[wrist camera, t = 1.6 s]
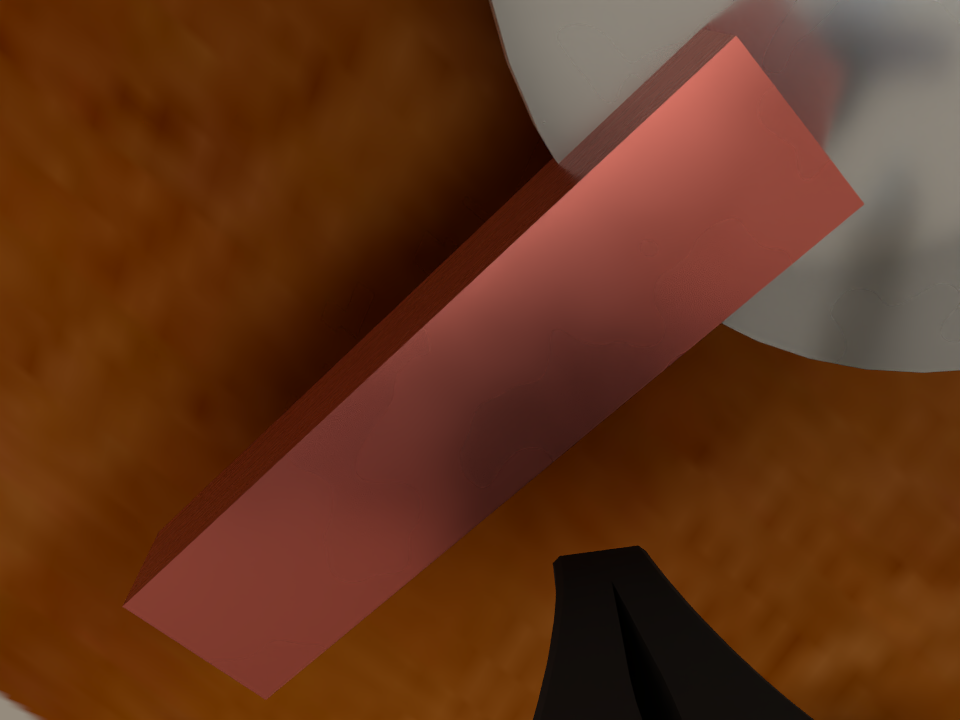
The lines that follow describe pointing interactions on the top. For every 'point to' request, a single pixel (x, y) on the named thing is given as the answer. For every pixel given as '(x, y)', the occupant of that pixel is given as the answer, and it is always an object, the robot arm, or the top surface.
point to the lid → (595, 294)
